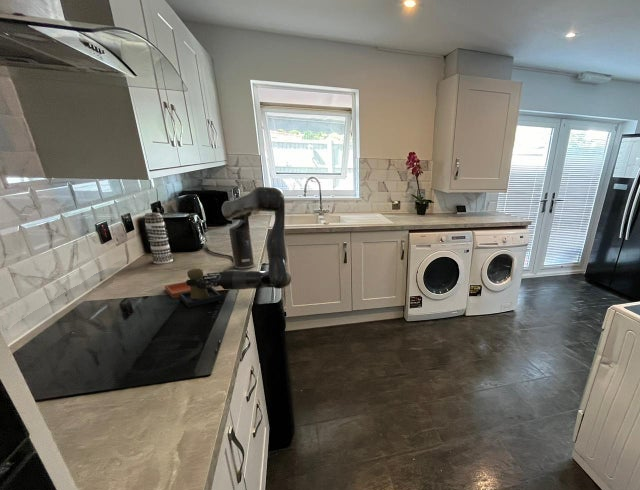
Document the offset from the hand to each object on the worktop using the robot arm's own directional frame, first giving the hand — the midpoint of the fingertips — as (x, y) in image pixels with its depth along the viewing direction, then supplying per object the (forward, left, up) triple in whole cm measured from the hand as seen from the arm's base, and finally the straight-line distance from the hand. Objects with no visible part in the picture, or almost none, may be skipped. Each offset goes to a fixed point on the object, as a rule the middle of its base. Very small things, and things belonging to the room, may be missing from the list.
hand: (190, 280), depth 124 cm
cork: (+2, +2, -7) cm, 7 cm away
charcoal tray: (+2, +2, -8) cm, 8 cm away
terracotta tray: (-11, 0, -8) cm, 14 cm away
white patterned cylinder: (-63, +3, -8) cm, 64 cm away
